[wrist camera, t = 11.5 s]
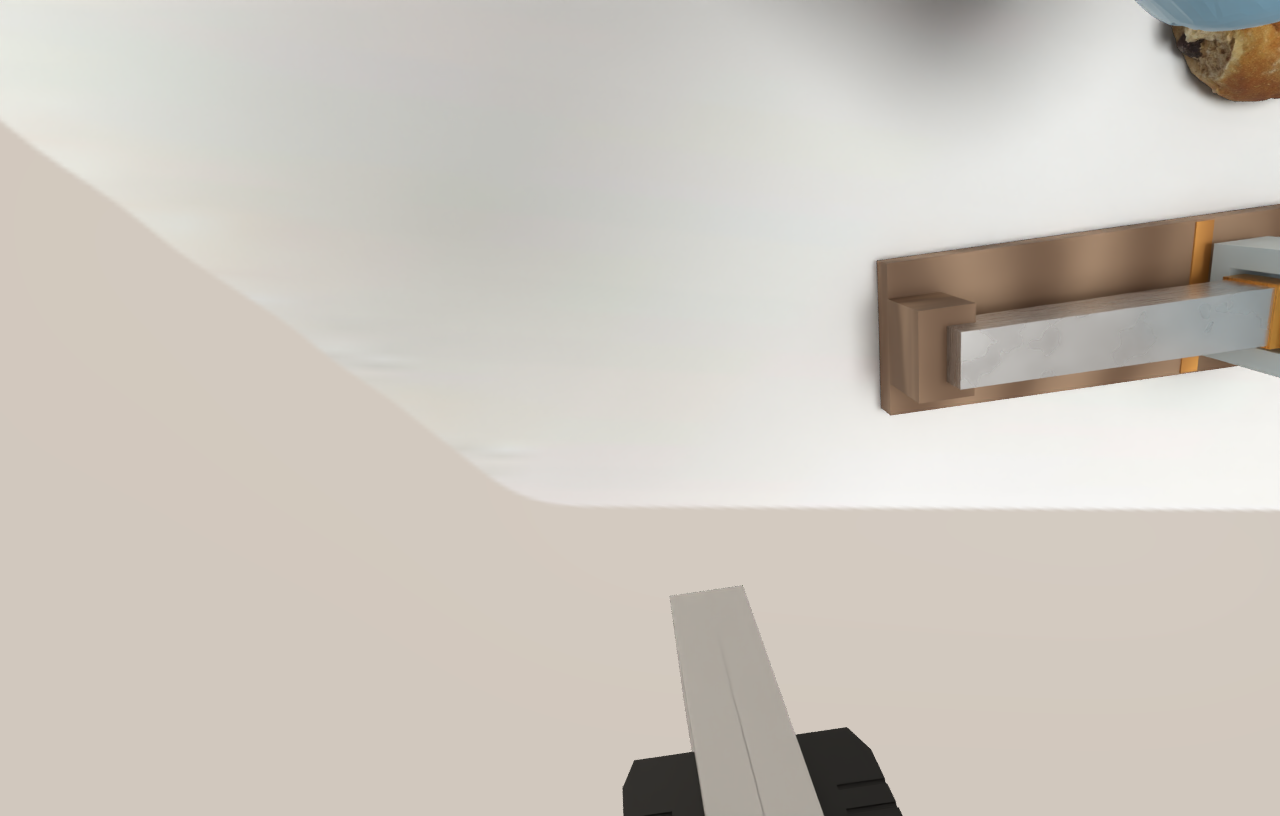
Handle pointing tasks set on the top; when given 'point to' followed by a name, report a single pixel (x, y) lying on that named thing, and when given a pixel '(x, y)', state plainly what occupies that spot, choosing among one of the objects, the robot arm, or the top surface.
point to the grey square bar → (1115, 331)
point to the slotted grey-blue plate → (1254, 260)
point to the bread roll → (1234, 60)
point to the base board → (1038, 298)
